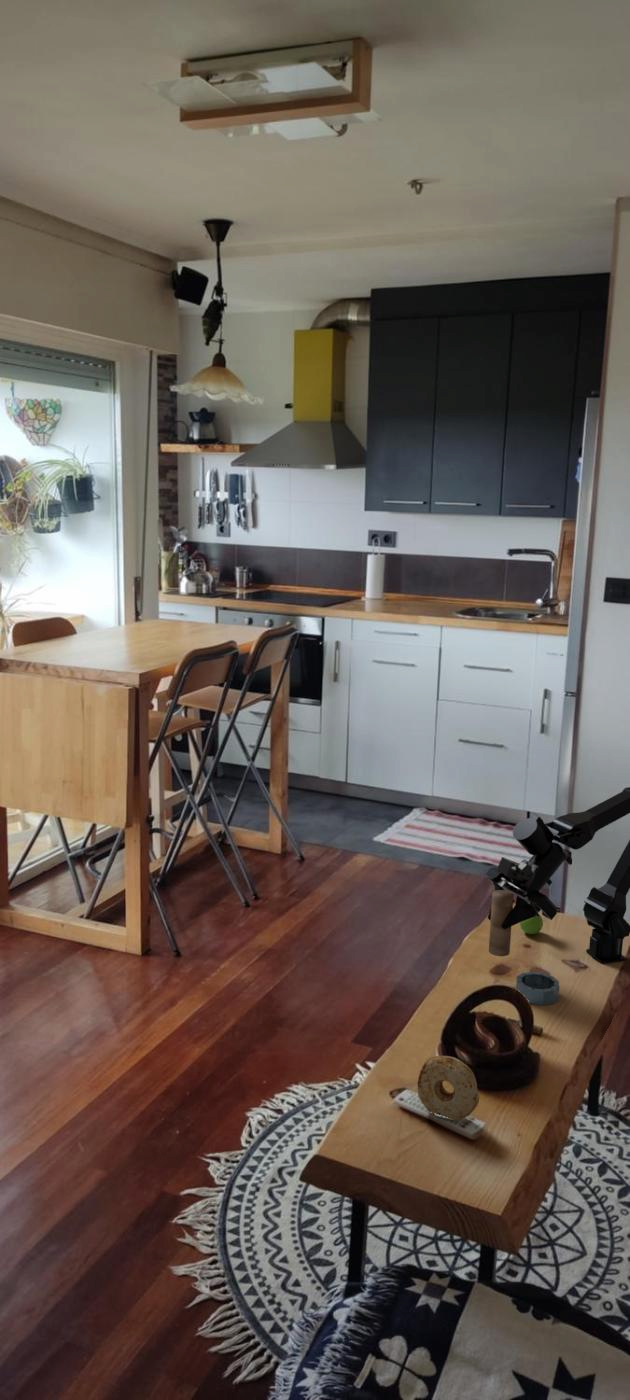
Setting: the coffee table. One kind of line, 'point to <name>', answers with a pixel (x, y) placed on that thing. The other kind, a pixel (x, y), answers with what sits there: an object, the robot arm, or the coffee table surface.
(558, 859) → the robot arm
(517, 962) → the coffee table surface
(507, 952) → the walnut shaft
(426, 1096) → the stone disc
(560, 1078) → the coffee table surface
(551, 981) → the metal collar
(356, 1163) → the coffee table surface
